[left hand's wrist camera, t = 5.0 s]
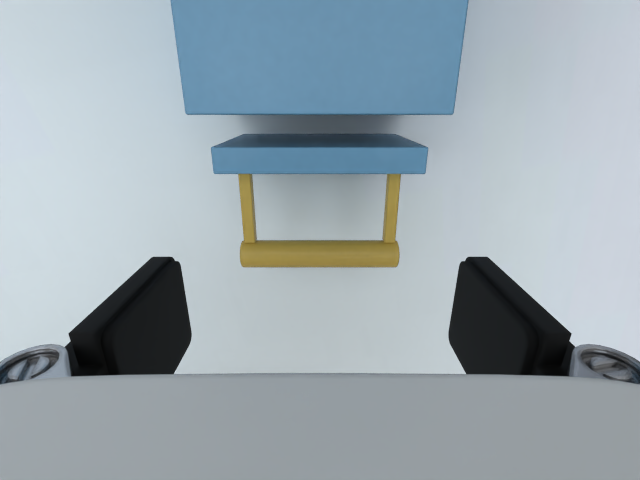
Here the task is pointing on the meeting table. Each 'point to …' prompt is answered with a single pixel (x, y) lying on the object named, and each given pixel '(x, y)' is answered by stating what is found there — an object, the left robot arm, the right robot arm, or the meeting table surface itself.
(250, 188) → the drawer
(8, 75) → the meeting table surface
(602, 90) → the meeting table surface
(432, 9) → the cabinet
